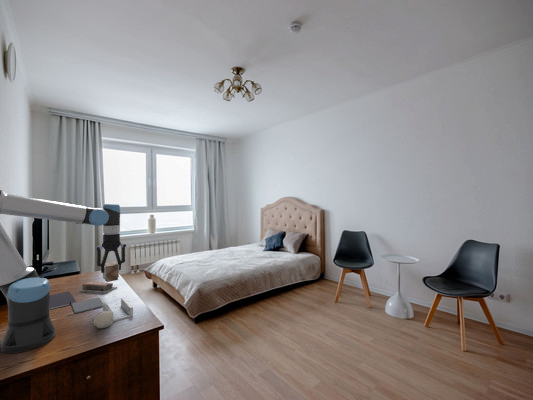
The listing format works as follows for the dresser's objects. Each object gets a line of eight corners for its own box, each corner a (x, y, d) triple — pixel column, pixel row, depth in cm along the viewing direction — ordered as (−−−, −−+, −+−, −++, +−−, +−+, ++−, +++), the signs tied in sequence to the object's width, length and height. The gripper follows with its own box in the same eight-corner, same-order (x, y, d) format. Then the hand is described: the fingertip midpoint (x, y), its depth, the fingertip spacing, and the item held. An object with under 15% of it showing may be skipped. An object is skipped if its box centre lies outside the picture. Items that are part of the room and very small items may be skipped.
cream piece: (95, 325, 109) (95, 309, 109) (114, 322, 111) (114, 307, 111) (91, 332, 102) (91, 316, 102) (111, 329, 105) (111, 313, 105)
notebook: (40, 299, 136) (44, 312, 122) (40, 297, 136) (44, 308, 122) (69, 293, 146) (76, 304, 131) (69, 291, 146) (76, 301, 131)
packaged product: (78, 284, 147) (93, 279, 157) (78, 292, 147) (93, 286, 157) (104, 286, 144) (117, 281, 154) (104, 294, 144) (117, 288, 154)
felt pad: (75, 313, 119) (75, 312, 119) (71, 304, 129) (71, 303, 129) (104, 306, 127) (104, 305, 127) (98, 298, 137) (98, 297, 137)
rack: (110, 322, 111) (110, 313, 111) (102, 310, 123) (102, 302, 123) (133, 316, 117) (133, 307, 117) (123, 305, 129) (123, 297, 129)
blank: (106, 282, 125) (106, 266, 125) (102, 277, 132) (102, 262, 132) (118, 280, 128) (118, 264, 128) (113, 275, 135) (113, 261, 135)
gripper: (91, 235, 120) (91, 283, 120) (132, 232, 132) (132, 275, 132) (89, 234, 125) (88, 279, 125) (128, 231, 138) (128, 272, 138)
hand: (111, 277), depth 129 cm, fingers closed on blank, 5 cm apart
